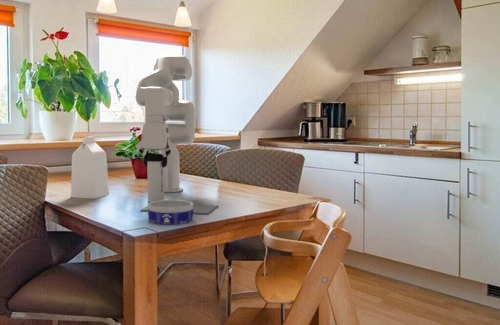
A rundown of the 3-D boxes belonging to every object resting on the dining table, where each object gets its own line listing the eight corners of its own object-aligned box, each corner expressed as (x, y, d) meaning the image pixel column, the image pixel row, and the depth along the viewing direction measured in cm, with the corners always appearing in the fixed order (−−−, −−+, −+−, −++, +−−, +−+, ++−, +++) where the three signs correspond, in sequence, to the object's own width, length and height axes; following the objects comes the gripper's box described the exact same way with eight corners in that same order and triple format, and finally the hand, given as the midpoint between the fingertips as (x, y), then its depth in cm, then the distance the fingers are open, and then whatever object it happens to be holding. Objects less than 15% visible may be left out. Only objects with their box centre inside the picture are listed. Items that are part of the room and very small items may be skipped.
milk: (95, 198, 202) (94, 137, 200) (71, 197, 204) (69, 136, 202) (109, 193, 214) (108, 136, 211) (85, 192, 216) (84, 135, 214)
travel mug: (146, 202, 186) (145, 151, 184) (162, 201, 188) (162, 151, 186) (148, 205, 180) (147, 153, 178) (165, 204, 182) (165, 152, 180)
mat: (155, 203, 192) (155, 202, 192) (218, 206, 187) (218, 205, 187) (140, 211, 177) (140, 209, 177) (207, 214, 172) (207, 213, 172)
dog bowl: (194, 216, 171) (194, 199, 170) (191, 225, 156) (191, 207, 155) (152, 215, 170) (152, 199, 170) (144, 225, 155) (144, 207, 154)
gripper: (180, 120, 183) (180, 166, 185) (137, 119, 186) (138, 164, 188) (173, 120, 175) (173, 168, 177) (129, 119, 178) (130, 167, 180)
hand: (155, 166), depth 182 cm, fingers closed on travel mug, 6 cm apart
